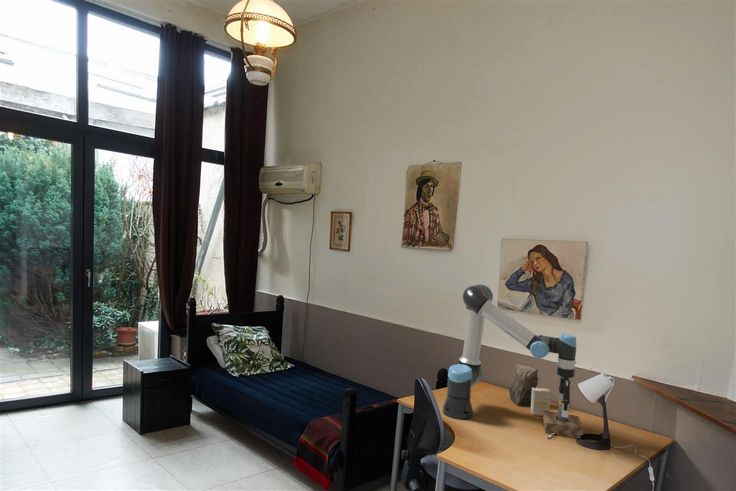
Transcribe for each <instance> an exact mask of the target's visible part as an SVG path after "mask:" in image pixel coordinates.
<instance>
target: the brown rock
mask: <svg viewBox="0 0 736 491" xmlns="http://www.w3.org/2000/svg"><path fill="white" fill-rule="evenodd" d="M538 372H539V369H538V368H534V367H533V366H531V365H523V364H522V365H521V364H519V363H515V364H514V369H513V370H512V372H511V383H510V385H509V387H508V390H509V391H508V392H509V400H510V401H511V402H513V404H514V405H515V406H516V407H523V406H524V407H525V406H526V407H527V406H531V395H532V388H538V384H539V383H538V382H539V377H538Z"/></svg>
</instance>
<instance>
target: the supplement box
mask: <svg viewBox="0 0 736 491" xmlns="http://www.w3.org/2000/svg"><path fill="white" fill-rule="evenodd" d="M550 402H551V391H550V390H549V388H544V387H543V388H541V387H536V388H532V395H531V405H530V413H531V414H532V416H537V417H538V416H539V417H543V411H550Z"/></svg>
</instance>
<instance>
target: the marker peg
mask: <svg viewBox="0 0 736 491" xmlns="http://www.w3.org/2000/svg"><path fill="white" fill-rule="evenodd" d="M561 401H563V399H559V398H558V404H559V407H558V412H557V413H558V421H564V422H567V417H562V403H561ZM565 401H567V400H565Z"/></svg>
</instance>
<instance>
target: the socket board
mask: <svg viewBox="0 0 736 491" xmlns="http://www.w3.org/2000/svg"><path fill="white" fill-rule="evenodd" d="M542 424H543V428H544V433H545V434H549V435H552V434H551V433H556V434H557V435H556V436H561V437H567V438H571V439H577V437H578V436H579V435H583V436H584V426H583V424H582V422H581V420H580V417H579V415H573V414H568V418H567V422H564V421H558V412H556V411H555V412H554V411H550V410H549V411H543V416H542Z"/></svg>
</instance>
